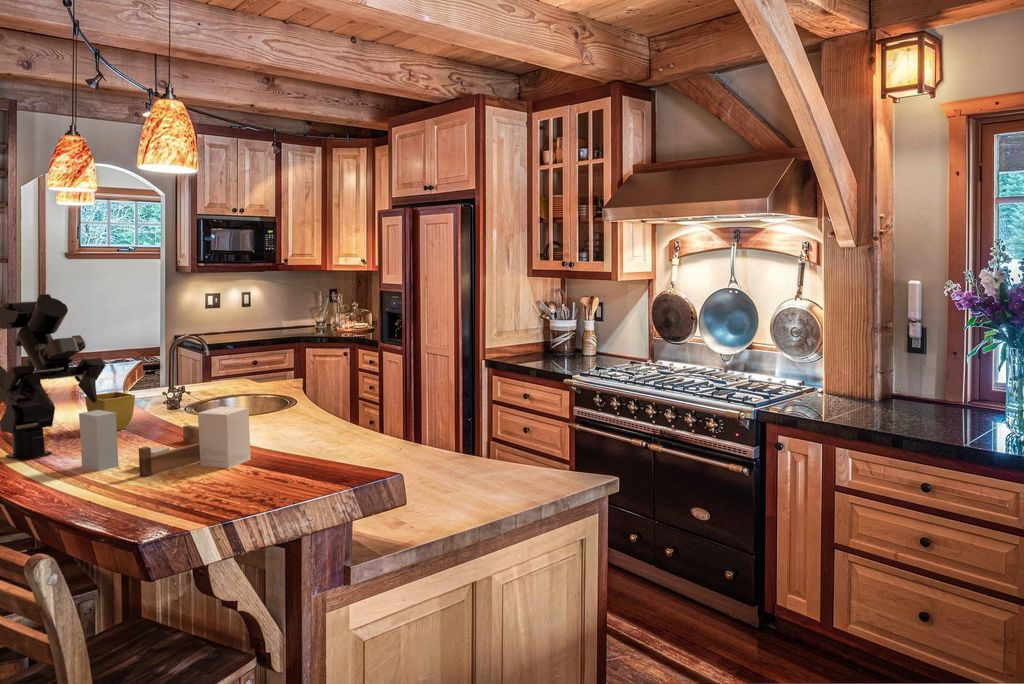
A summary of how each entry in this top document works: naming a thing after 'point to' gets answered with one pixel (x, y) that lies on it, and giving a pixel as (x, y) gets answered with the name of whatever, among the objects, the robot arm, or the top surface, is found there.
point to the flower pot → (114, 406)
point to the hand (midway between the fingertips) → (73, 404)
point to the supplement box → (224, 437)
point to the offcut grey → (158, 450)
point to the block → (98, 440)
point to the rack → (171, 455)
